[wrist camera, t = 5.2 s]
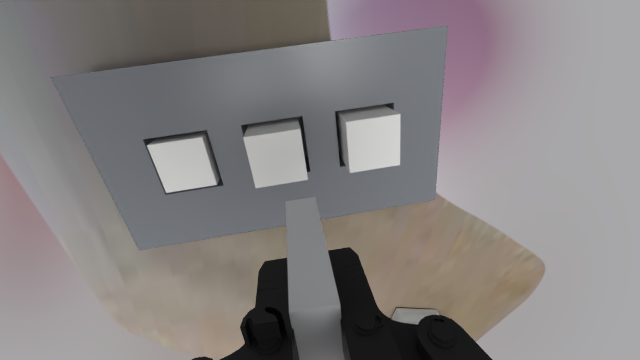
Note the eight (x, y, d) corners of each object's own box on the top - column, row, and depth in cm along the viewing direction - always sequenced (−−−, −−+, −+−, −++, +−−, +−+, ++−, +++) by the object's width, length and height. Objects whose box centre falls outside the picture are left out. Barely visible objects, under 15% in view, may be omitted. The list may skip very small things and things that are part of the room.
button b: (248, 123, 25) (243, 137, 21) (297, 116, 25) (300, 128, 22) (259, 168, 27) (255, 188, 23) (304, 161, 27) (307, 179, 23)
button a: (166, 131, 26) (146, 145, 23) (213, 124, 27) (201, 137, 23) (181, 173, 28) (166, 193, 24) (225, 166, 29) (216, 184, 25)
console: (92, 72, 25) (50, 77, 20) (419, 29, 27) (447, 25, 22) (160, 224, 32) (140, 252, 27) (414, 181, 34) (434, 202, 29)
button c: (336, 111, 26) (346, 122, 22) (382, 104, 26) (400, 114, 22) (340, 155, 28) (349, 173, 24) (383, 148, 28) (400, 165, 24)
